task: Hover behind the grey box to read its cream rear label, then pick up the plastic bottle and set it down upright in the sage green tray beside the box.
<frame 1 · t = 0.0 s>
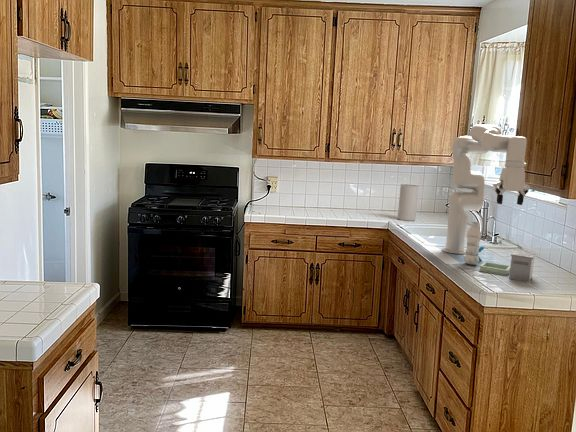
hand: (509, 204, 244), 31 cm above the worktop, tool pointing down, fingers open, 9 cm apart
gear: (473, 261, 273), on the worktop
grey box: (520, 277, 242), on the worktop
cylinder vase: (406, 220, 400), on the worktop
tray: (495, 270, 253), on the worktop
plastic bottle: (470, 264, 263), on the worktop
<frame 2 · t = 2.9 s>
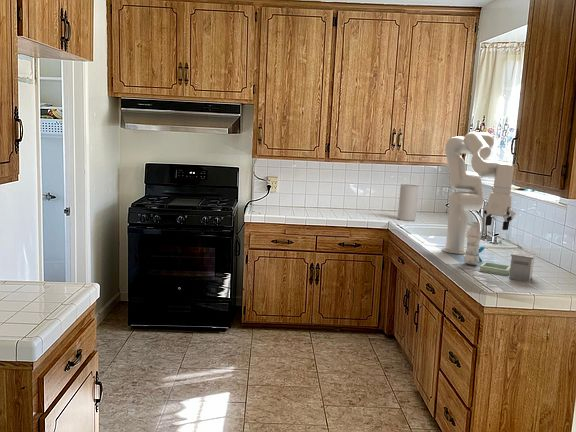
hand: (496, 227, 256), 19 cm above the worktop, tool pointing down, fingers open, 9 cm apart
nothing on the worktop moved.
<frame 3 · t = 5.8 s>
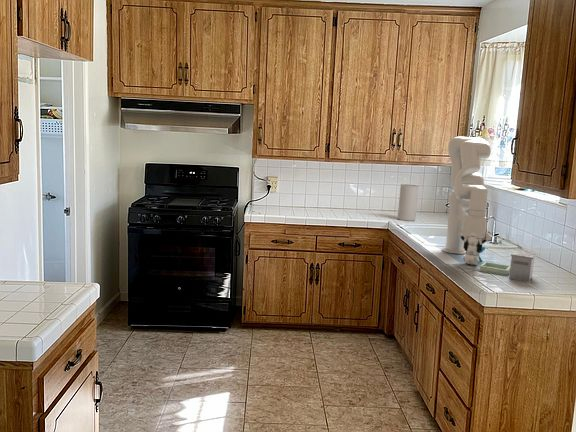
hand: (472, 251, 262), 6 cm above the worktop, tool pointing down, fingers closed on plastic bottle, 5 cm apart
plastic bottle: (470, 264, 263), on the worktop, touching gripper
everything else where it was.
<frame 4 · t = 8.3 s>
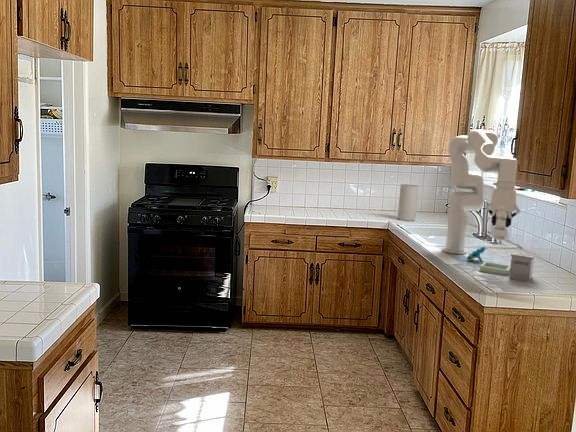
hand: (500, 225, 250), 21 cm above the worktop, tool pointing down, fingers closed on plastic bottle, 5 cm apart
plastic bottle: (498, 240, 251), point 14 cm above the worktop, touching gripper
everything else where it was.
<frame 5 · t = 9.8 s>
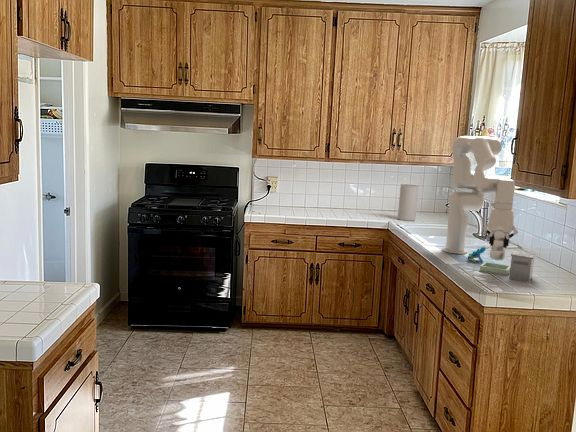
hand: (498, 246, 251), 12 cm above the worktop, tool pointing down, fingers closed on plastic bottle, 5 cm apart
plastic bottle: (496, 260, 252), point 5 cm above the worktop, touching gripper
everything else where it was.
when the fingers open (8 cm above the worktop, at t = 10.9 s): plastic bottle moves 1 cm, resting on tray.
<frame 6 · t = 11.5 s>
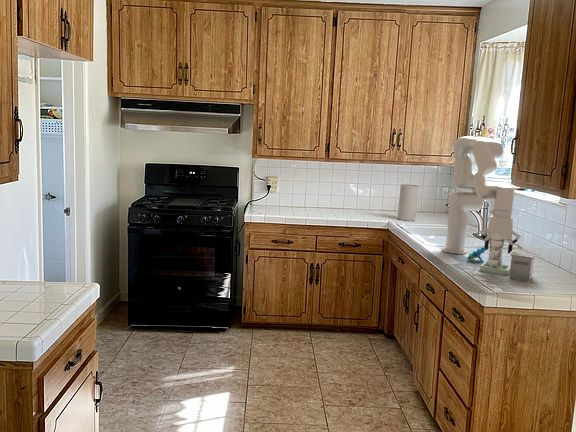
hand: (497, 251, 252), 9 cm above the worktop, tool pointing down, fingers open, 9 cm apart
plastic bottle: (494, 269, 253), resting on tray
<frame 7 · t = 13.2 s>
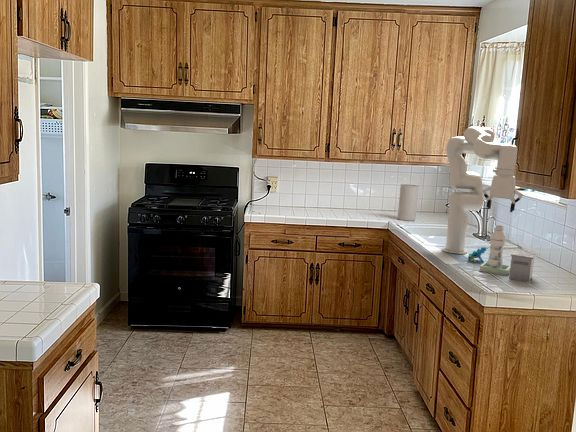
hand: (500, 210, 252), 27 cm above the worktop, tool pointing down, fingers open, 9 cm apart
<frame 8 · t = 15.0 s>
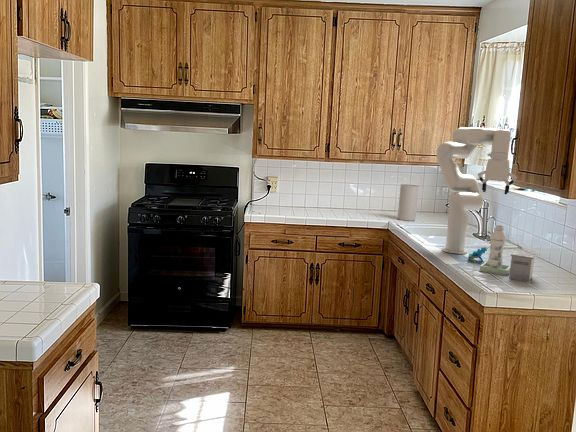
hand: (494, 193, 261), 34 cm above the worktop, tool pointing down, fingers open, 9 cm apart
at the end: plastic bottle inside the target area on the tray (0.6 cm from its centre), point 0.4 cm above the tray's base; plastic bottle tilted 0°; the gripper is holding nothing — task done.
